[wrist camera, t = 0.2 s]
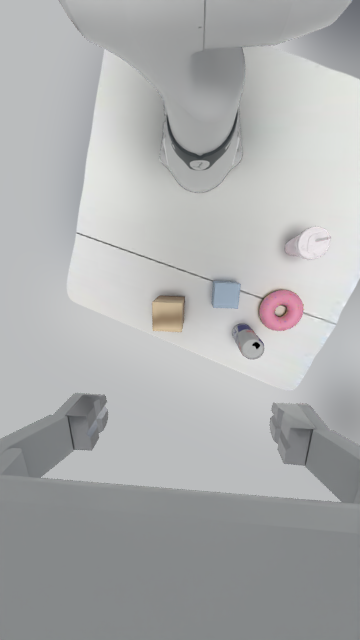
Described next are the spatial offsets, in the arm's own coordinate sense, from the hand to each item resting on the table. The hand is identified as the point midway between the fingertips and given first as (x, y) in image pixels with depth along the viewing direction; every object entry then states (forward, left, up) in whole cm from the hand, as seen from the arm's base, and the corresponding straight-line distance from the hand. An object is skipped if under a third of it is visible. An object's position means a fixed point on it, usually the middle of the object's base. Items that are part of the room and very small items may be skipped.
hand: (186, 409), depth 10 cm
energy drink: (+11, +14, -47) cm, 51 cm away
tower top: (+5, -6, -42) cm, 43 cm away
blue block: (0, +8, -47) cm, 48 cm away
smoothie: (-12, +24, -47) cm, 54 cm away
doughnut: (+4, +23, -48) cm, 53 cm away
